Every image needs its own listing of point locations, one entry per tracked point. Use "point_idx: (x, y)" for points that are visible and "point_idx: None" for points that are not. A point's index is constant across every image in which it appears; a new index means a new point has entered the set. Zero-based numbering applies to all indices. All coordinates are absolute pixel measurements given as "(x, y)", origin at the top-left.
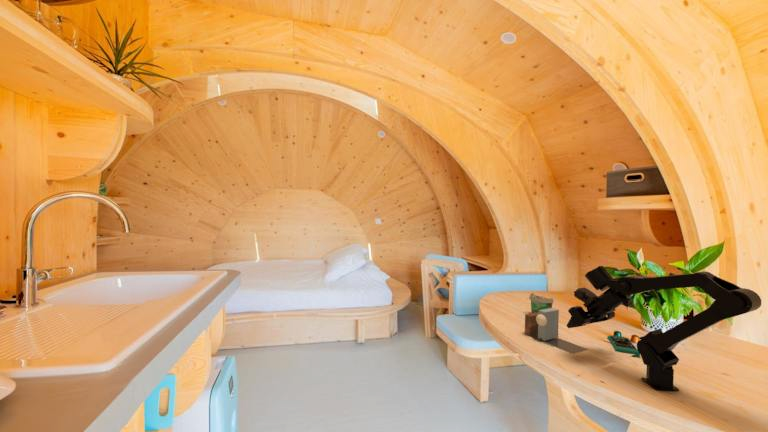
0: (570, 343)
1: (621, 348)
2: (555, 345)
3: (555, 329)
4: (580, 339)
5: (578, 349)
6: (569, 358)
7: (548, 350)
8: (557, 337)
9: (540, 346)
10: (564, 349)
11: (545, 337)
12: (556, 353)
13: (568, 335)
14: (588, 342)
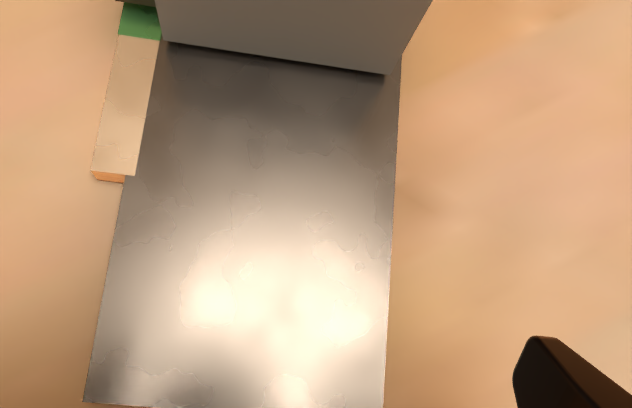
0: (370, 221)
1: None
2: (163, 161)
3: (366, 11)
4: (621, 194)
5: (275, 363)
6: (6, 404)
7: (41, 161)
8: (379, 72)
9: (79, 63)
10: (132, 276)
11: (173, 22)
12: (29, 249)
13: (608, 80)
14: (623, 279)
